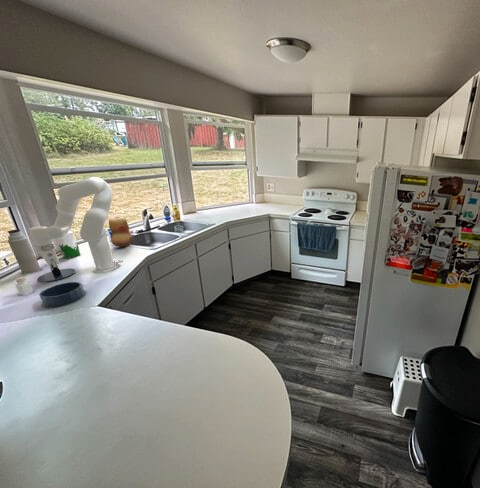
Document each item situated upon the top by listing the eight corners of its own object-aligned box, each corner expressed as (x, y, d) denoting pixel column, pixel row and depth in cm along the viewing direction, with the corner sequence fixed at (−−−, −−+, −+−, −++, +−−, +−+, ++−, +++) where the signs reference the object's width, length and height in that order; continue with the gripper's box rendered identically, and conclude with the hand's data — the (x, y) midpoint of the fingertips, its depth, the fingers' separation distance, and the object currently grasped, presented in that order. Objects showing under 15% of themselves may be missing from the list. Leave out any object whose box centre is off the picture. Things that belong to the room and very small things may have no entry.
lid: (72, 267, 166) (68, 258, 164) (79, 274, 157) (75, 265, 155) (36, 277, 154) (31, 267, 151) (41, 285, 145) (36, 275, 142)
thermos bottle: (37, 267, 166) (20, 227, 156) (43, 270, 163) (26, 229, 153) (20, 272, 159) (1, 231, 149) (25, 275, 156) (6, 233, 146)
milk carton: (62, 256, 184) (52, 230, 177) (78, 252, 191) (69, 227, 184) (66, 259, 179) (56, 232, 172) (82, 255, 186) (73, 229, 179)
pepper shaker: (28, 291, 139) (21, 276, 136) (34, 291, 139) (27, 276, 136) (19, 295, 135) (11, 279, 132) (25, 295, 135) (18, 280, 132)
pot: (80, 288, 143) (77, 279, 141) (88, 297, 135) (85, 287, 133) (41, 300, 132) (36, 290, 129) (47, 311, 123) (42, 300, 121)
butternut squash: (117, 250, 196) (108, 220, 187) (110, 247, 202) (101, 217, 194) (137, 245, 207) (130, 216, 198) (130, 242, 213) (123, 214, 205)
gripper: (57, 248, 147) (68, 275, 154) (51, 242, 156) (62, 268, 163) (39, 252, 141) (51, 280, 148) (33, 245, 150) (45, 273, 157)
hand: (57, 274), depth 155 cm, fingers closed on lid, 3 cm apart
